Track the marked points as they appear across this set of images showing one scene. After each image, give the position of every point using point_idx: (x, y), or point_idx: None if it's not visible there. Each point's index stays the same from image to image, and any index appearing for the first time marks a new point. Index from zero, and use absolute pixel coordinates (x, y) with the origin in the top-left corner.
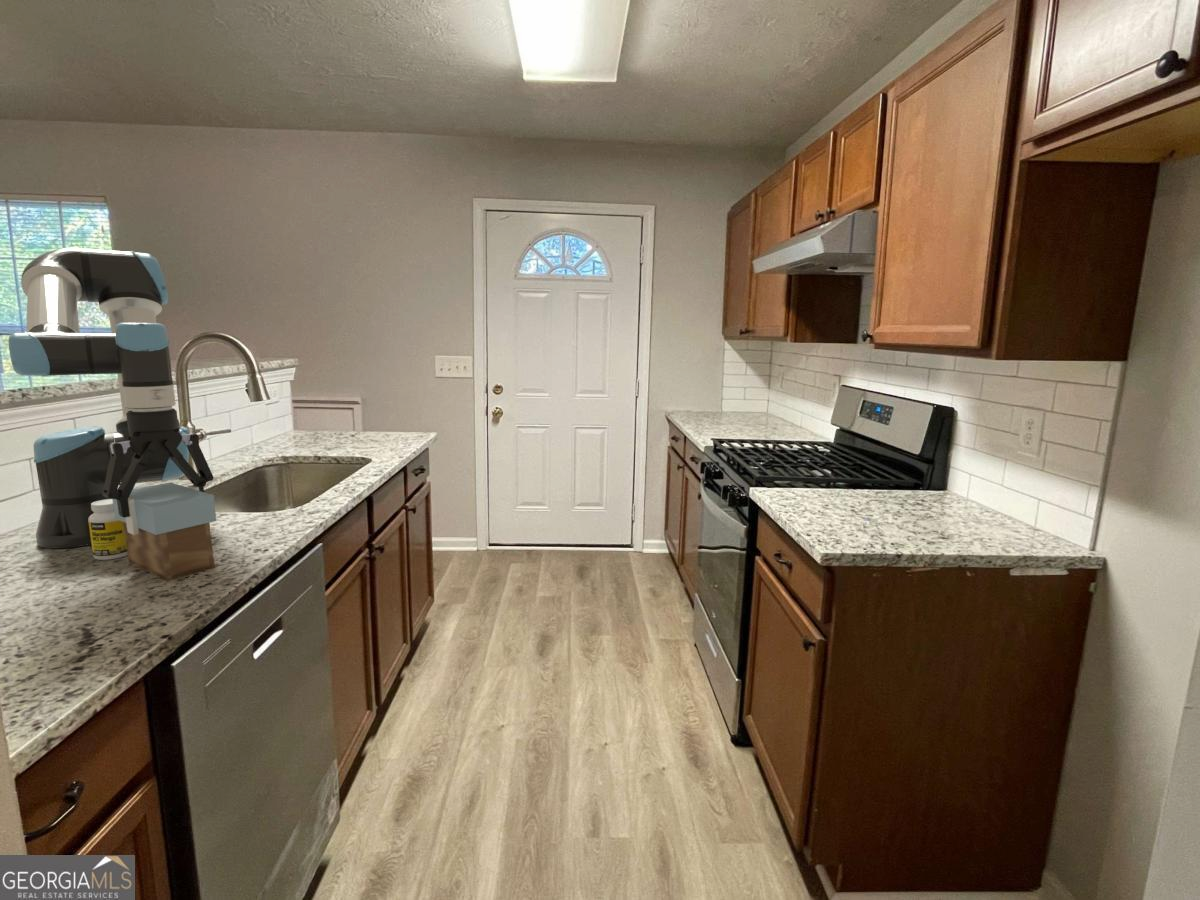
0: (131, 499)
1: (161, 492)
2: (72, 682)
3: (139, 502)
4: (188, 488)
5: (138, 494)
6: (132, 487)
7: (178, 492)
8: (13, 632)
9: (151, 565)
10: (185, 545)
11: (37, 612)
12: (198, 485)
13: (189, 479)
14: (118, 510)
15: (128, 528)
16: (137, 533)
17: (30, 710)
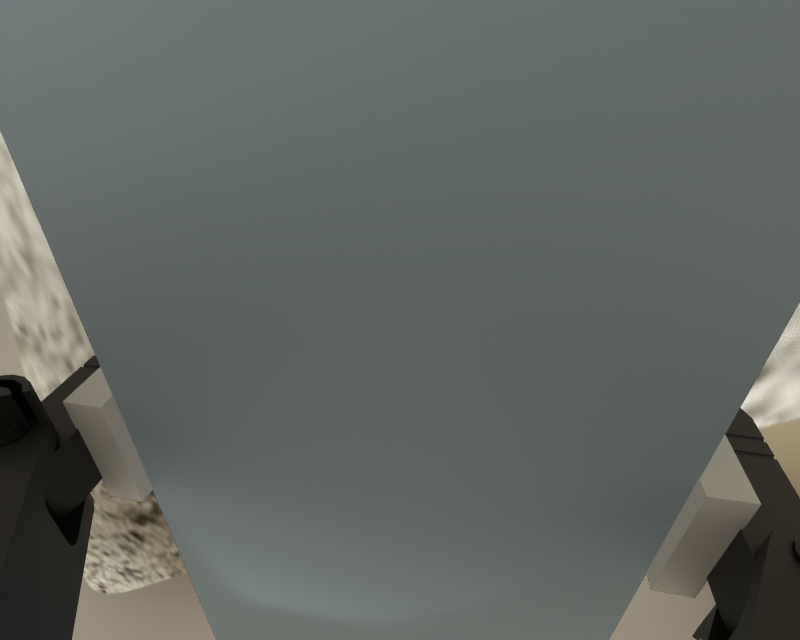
0: (125, 495)
1: (407, 435)
2: (131, 556)
3: (177, 538)
4: (664, 508)
5: (213, 328)
6: (66, 607)
7: (496, 543)
8: (22, 343)
9: None
10: None
11: (49, 269)
12: (715, 605)
13: (748, 606)
14: (94, 361)
15: None
16: None
17: (93, 566)
